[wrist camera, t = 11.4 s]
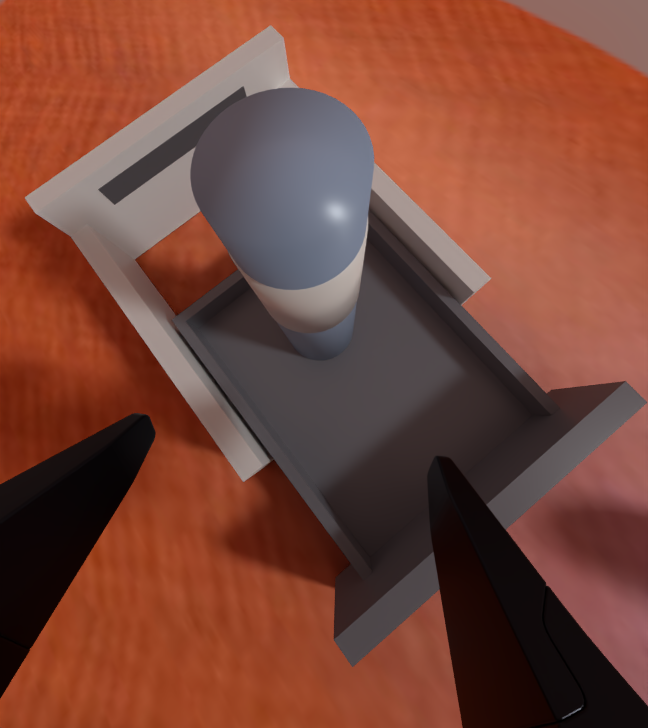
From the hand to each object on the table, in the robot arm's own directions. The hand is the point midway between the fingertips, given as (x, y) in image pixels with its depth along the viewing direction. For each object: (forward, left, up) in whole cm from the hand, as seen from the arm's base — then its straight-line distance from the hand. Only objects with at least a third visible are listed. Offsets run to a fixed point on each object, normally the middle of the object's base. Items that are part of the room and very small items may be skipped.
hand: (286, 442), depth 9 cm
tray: (+4, +1, -9) cm, 10 cm away
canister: (+4, +4, -8) cm, 10 cm away
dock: (+4, +8, -9) cm, 13 cm away
